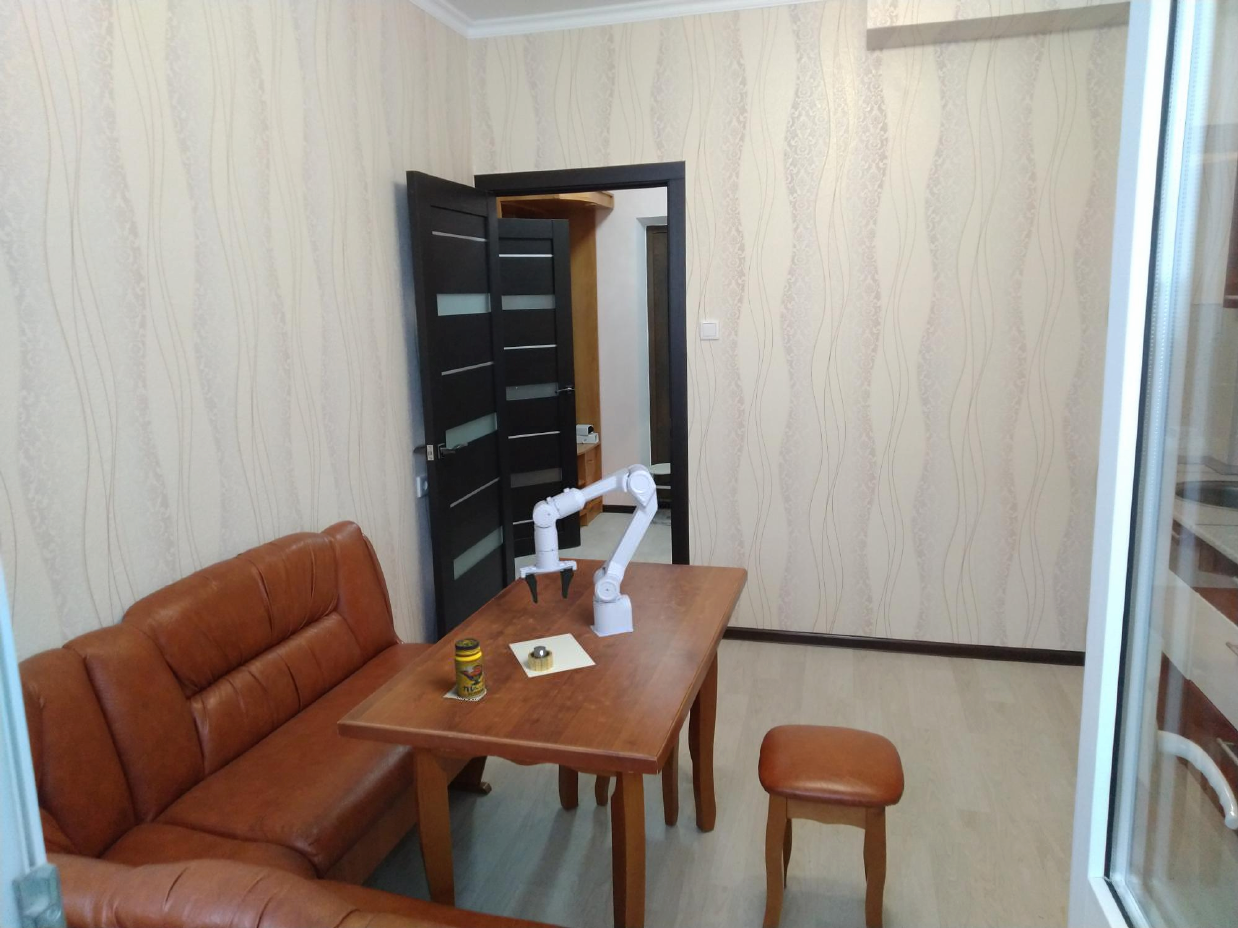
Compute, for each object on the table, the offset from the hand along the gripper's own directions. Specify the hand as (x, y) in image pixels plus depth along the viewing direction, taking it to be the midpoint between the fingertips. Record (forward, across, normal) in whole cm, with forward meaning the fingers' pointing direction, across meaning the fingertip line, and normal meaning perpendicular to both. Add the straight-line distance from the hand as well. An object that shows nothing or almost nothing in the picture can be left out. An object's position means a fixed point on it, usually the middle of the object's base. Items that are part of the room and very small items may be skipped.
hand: (550, 599), depth 217 cm
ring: (+9, +8, +19) cm, 22 cm away
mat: (+9, +4, +13) cm, 17 cm away
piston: (+9, +8, +19) cm, 23 cm away
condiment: (+10, +26, +24) cm, 37 cm away
